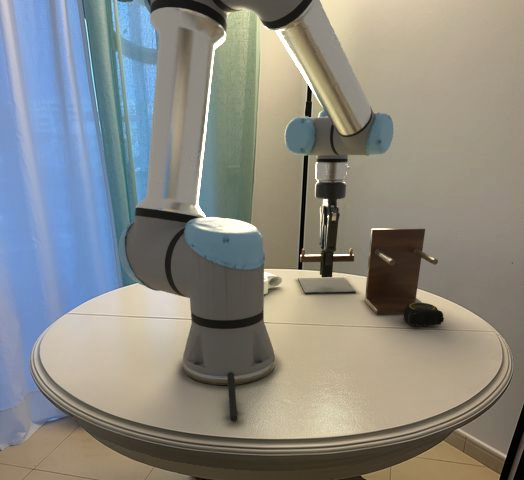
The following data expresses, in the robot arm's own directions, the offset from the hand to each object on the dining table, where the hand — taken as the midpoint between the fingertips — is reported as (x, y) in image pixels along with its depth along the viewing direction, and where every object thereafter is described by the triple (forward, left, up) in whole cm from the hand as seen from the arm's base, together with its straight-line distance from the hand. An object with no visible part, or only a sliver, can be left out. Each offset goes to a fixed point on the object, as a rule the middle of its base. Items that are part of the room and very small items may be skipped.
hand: (325, 275), depth 120 cm
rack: (-20, -13, -3) cm, 24 cm away
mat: (0, 0, -3) cm, 3 cm away
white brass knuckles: (+1, +21, -3) cm, 21 cm away
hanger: (0, 0, +4) cm, 4 cm away
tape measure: (-31, -15, -3) cm, 34 cm away
